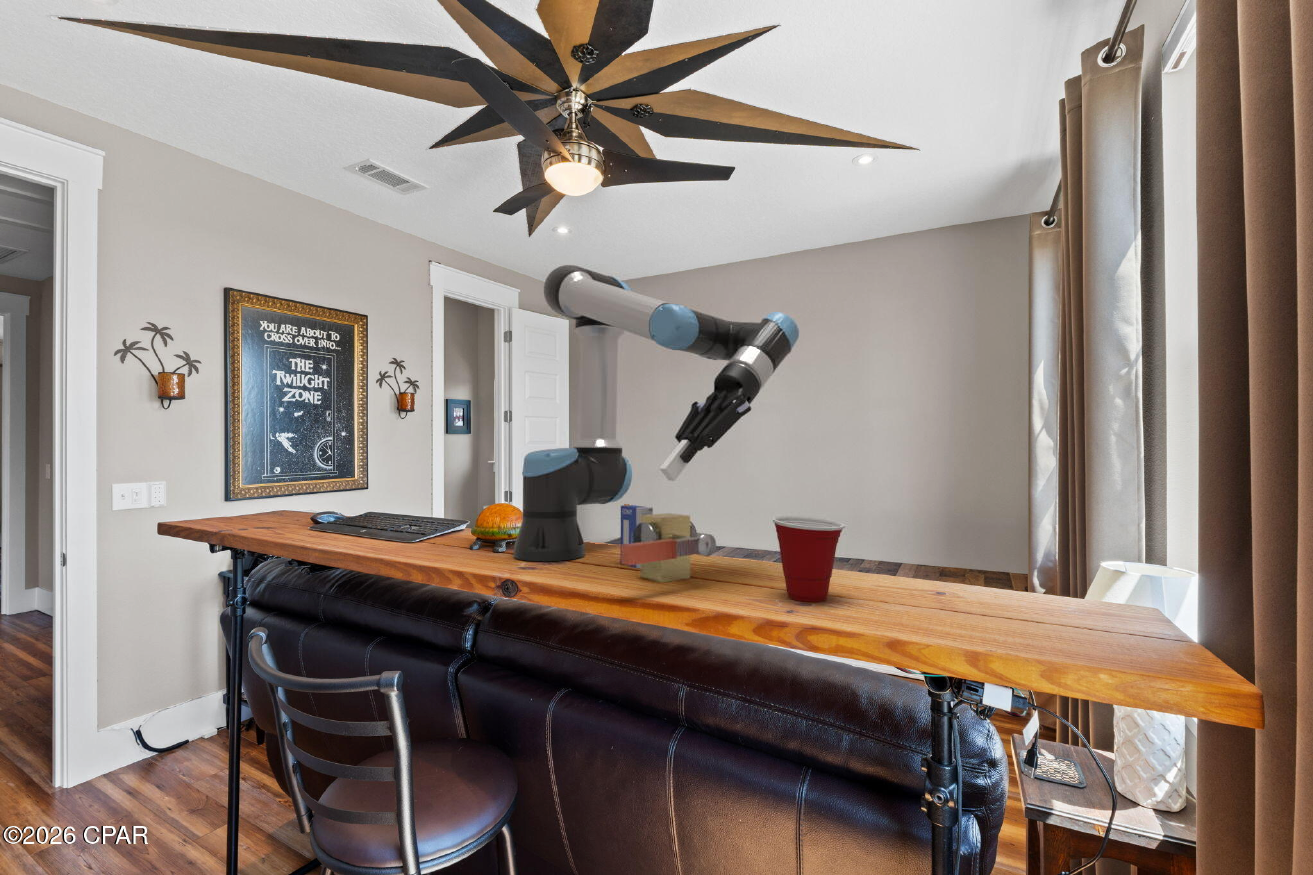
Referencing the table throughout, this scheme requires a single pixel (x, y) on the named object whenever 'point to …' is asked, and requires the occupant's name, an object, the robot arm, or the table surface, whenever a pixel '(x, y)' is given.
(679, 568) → the valve pipe
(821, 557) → the plastic cup
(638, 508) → the walkman
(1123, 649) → the table surface
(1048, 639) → the table surface
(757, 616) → the table surface
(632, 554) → the valve lever
